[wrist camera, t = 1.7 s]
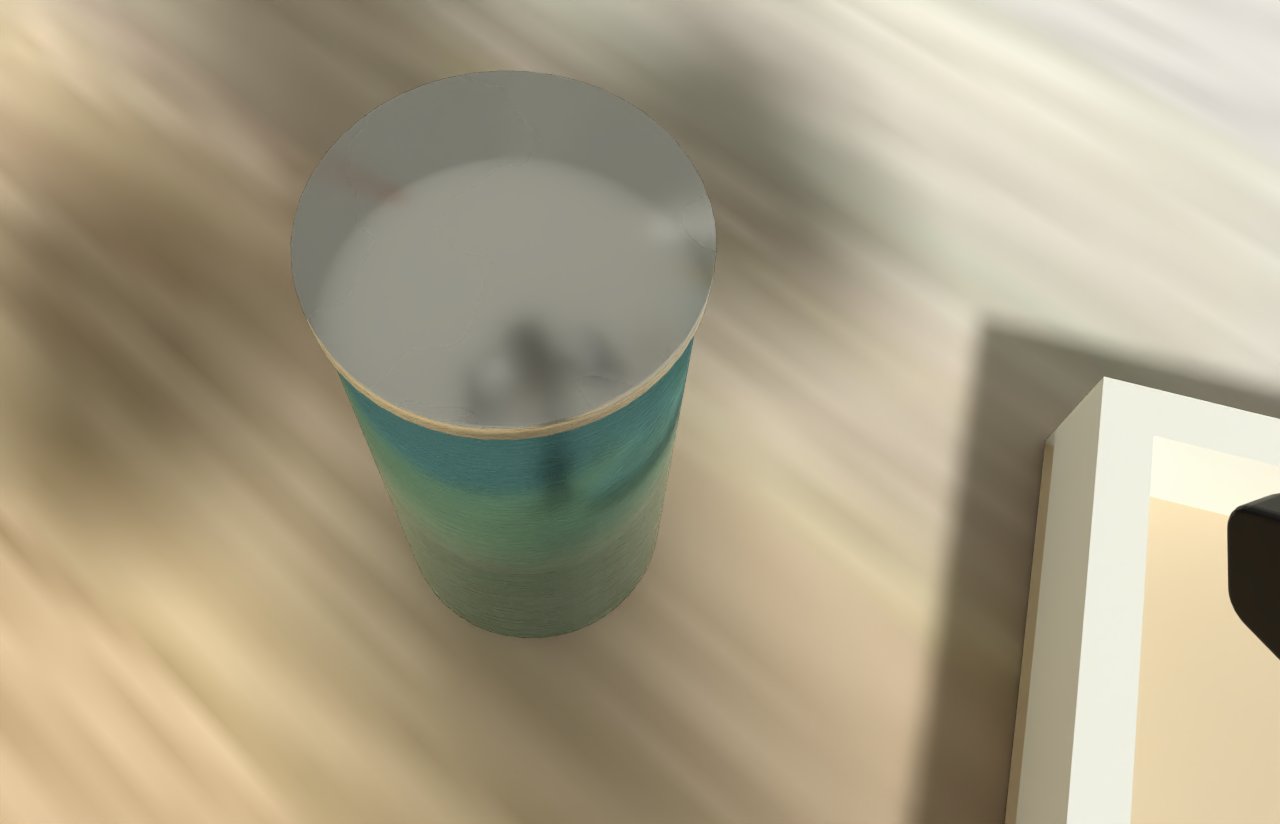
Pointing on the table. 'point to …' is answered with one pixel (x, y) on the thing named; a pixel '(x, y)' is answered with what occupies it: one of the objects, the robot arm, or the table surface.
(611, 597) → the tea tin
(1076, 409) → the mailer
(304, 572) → the table surface
